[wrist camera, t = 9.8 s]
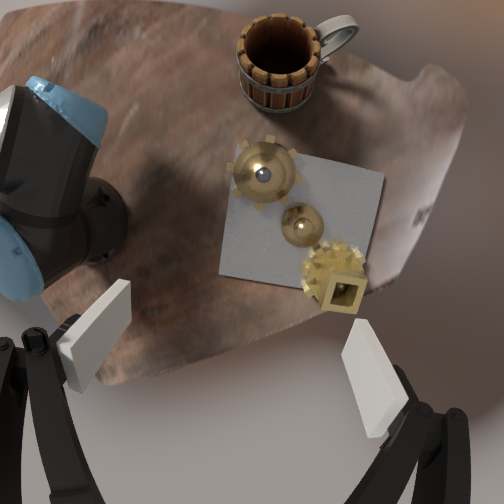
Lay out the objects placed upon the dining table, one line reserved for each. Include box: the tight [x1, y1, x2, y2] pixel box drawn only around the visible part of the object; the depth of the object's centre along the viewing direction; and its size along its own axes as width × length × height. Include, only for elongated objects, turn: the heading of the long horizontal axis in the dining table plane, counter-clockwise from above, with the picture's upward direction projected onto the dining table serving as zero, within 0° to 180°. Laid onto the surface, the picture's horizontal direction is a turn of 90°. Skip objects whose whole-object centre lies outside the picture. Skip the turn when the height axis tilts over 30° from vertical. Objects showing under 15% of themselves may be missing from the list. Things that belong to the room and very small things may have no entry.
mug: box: [236, 14, 359, 113], centre depth 29 cm, size 16×11×15 cm
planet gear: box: [300, 240, 368, 314], centre depth 40 cm, size 10×10×8 cm
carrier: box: [219, 135, 385, 291], centre depth 38 cm, size 23×22×10 cm
